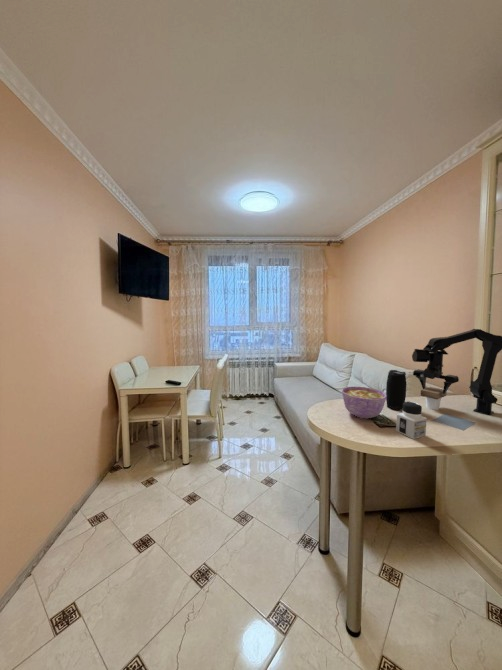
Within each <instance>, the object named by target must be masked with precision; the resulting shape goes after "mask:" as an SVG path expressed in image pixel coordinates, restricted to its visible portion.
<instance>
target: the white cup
mask: <svg viewBox="0 0 502 670" xmlns="http://www.w3.org/2000/svg"><path fill="white" fill-rule="evenodd" d="M441 401H442V398H440V399H433V398H429V397H425V408H427V409H429V410H433V411H434V410H435V411H439V410H440V407H441Z"/></svg>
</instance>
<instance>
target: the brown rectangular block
mask: <svg viewBox="0 0 502 670" xmlns="http://www.w3.org/2000/svg"><path fill="white" fill-rule="evenodd" d="M443 389H444V388H438V387H433V386H429V387H425V389H423V388H421V389H420V396H421V397H425V398H426V397H429V398H433V399H440V398H441V399H442V398H444V397H447V392H446V393H445V394H443Z"/></svg>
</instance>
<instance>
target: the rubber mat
mask: <svg viewBox="0 0 502 670" xmlns="http://www.w3.org/2000/svg"><path fill="white" fill-rule="evenodd" d="M431 421H433V422H435V423H438V424H442V425H445V426H449V427H452V428H455V429H458V430H461V431H465V430H467V429H469V428H470V427H471V426H474V424H477V422H476V421H472V420H469V419H466V418H463V417H459V416H455V415H452V414H448V413H443V414H442V415H439V416H437V417H435V418H433V419H431Z"/></svg>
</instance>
